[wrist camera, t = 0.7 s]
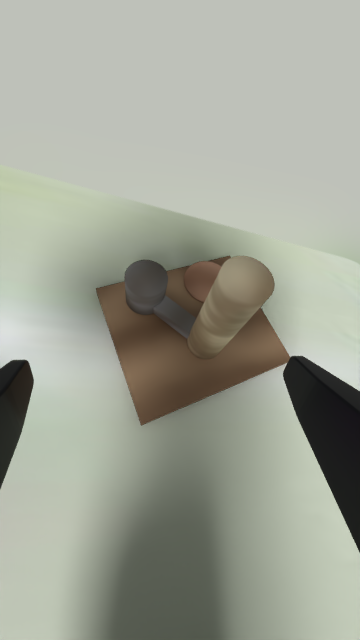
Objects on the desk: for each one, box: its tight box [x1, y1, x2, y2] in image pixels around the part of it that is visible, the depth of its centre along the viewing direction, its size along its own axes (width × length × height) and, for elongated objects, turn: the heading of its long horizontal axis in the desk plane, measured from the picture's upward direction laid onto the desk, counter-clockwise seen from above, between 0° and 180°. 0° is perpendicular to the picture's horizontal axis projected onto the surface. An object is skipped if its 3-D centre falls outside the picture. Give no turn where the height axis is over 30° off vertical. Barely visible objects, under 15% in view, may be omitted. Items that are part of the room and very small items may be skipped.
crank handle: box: [125, 256, 274, 359], centre depth 20 cm, size 10×4×10 cm, turn 53°
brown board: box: [96, 256, 290, 425], centre depth 25 cm, size 13×15×1 cm
